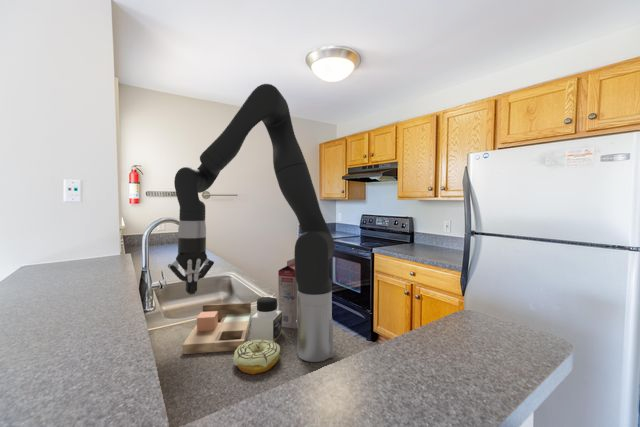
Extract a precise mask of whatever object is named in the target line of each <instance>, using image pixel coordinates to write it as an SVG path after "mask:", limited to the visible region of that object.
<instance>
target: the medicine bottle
mask: <svg viewBox="0 0 640 427" xmlns="http://www.w3.org/2000/svg"><path fill="white" fill-rule="evenodd" d="M250 327H251V328H250V331H251V333H250V336H251V337H250V339H251V340H258V339H261V340H270V341H273V342H275V343H276V340H278V338H279V337H280V336H281V334H282V332H283V330H282V328H283V327H282V311H278V306H277V299H276V298H275V297H272V295H266V296H261V297H259V298H257V300H256V312H255V314H253V315H252V316H251V321H250ZM251 340H250V341H251Z"/></svg>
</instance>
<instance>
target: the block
mask: <svg viewBox="0 0 640 427" xmlns="http://www.w3.org/2000/svg"><path fill="white" fill-rule="evenodd" d="M217 324H218V311H211V312H203V311H201V312H200V313H199V315H197V317H196V325H197V331H211V330H215V328H216V326H217Z"/></svg>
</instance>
